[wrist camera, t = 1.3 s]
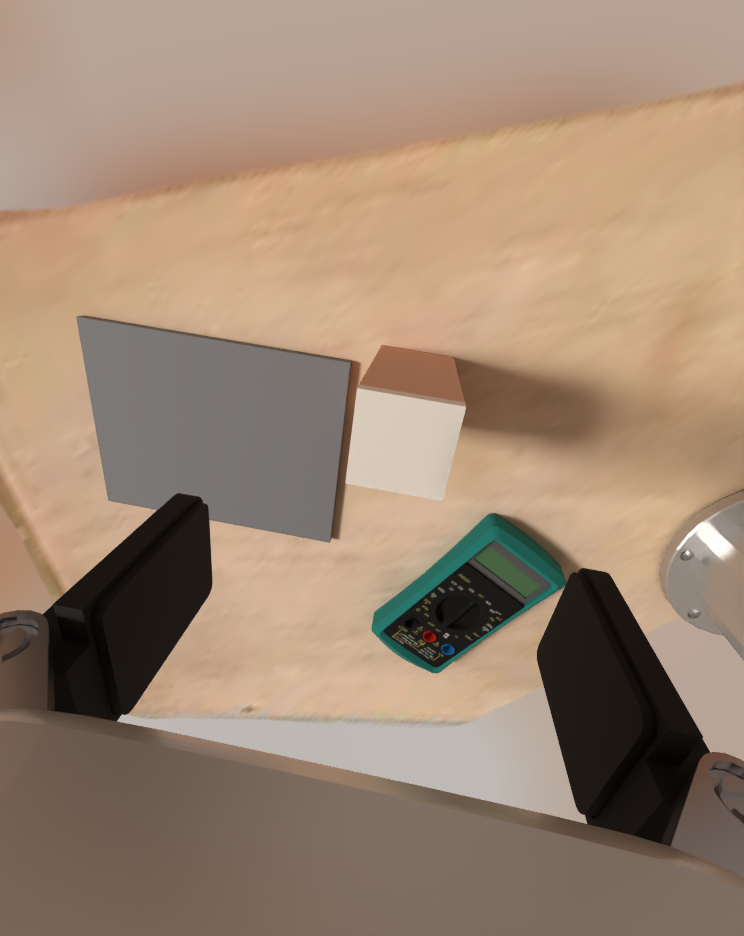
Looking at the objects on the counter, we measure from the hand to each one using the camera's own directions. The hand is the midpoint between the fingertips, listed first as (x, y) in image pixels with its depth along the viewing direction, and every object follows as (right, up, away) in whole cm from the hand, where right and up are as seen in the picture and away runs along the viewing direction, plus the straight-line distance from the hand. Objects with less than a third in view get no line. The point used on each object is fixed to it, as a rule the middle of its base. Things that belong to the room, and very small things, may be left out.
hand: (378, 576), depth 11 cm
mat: (-11, +5, +19) cm, 23 cm away
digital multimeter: (+7, -7, +24) cm, 26 cm away
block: (+2, +8, +16) cm, 18 cm away
